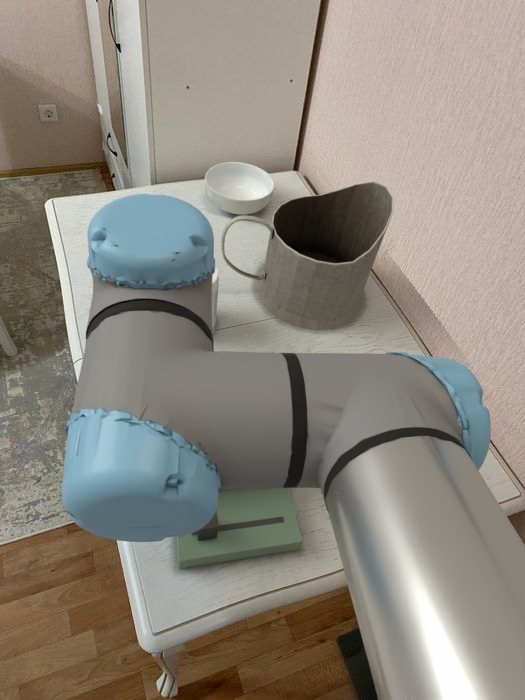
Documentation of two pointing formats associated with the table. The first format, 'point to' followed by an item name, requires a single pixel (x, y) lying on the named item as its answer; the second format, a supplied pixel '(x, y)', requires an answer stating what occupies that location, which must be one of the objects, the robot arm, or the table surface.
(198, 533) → the slider knob
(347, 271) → the pitcher
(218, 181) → the cereal bowl
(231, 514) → the toaster
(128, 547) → the table surface
